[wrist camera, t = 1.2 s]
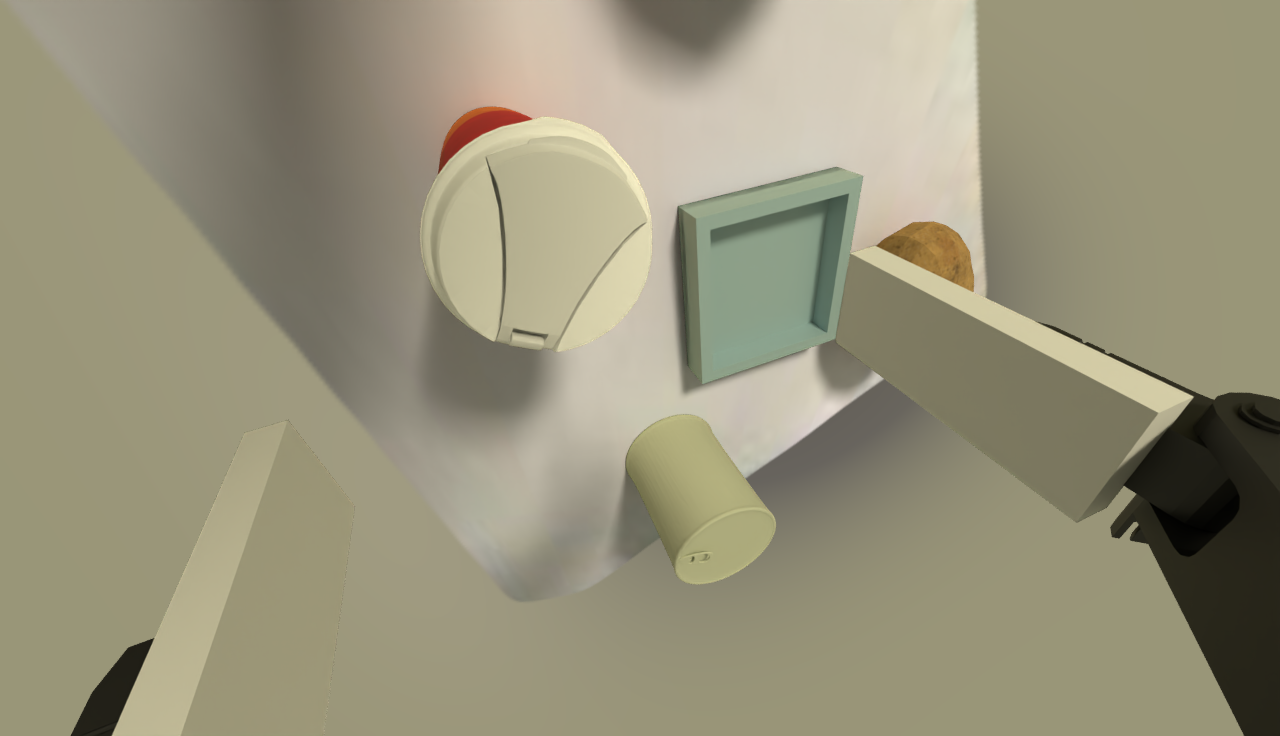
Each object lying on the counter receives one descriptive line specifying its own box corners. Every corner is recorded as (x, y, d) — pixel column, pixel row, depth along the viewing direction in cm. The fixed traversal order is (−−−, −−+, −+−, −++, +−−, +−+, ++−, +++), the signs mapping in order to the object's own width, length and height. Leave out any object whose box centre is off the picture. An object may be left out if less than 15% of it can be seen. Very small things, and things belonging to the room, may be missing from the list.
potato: (927, 183, 40) (1019, 211, 34) (911, 316, 49) (981, 357, 43) (827, 229, 39) (903, 267, 33) (829, 357, 48) (889, 405, 42)
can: (630, 421, 43) (688, 528, 34) (720, 407, 46) (794, 502, 37) (620, 492, 48) (668, 602, 39) (702, 475, 51) (763, 573, 42)
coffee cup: (545, 249, 31) (617, 378, 20) (407, 212, 27) (399, 347, 16) (587, 115, 28) (704, 178, 16) (436, 49, 24) (452, 72, 12)
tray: (678, 206, 33) (696, 218, 31) (836, 166, 36) (863, 175, 34) (687, 365, 42) (702, 384, 39) (815, 323, 44) (835, 339, 42)
